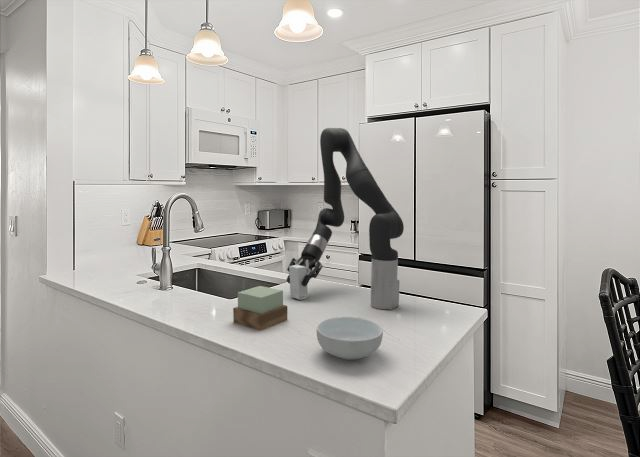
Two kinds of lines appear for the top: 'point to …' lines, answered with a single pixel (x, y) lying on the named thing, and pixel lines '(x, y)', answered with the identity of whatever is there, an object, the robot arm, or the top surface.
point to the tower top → (260, 299)
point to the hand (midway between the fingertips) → (295, 283)
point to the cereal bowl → (349, 337)
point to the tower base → (260, 317)
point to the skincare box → (297, 282)
